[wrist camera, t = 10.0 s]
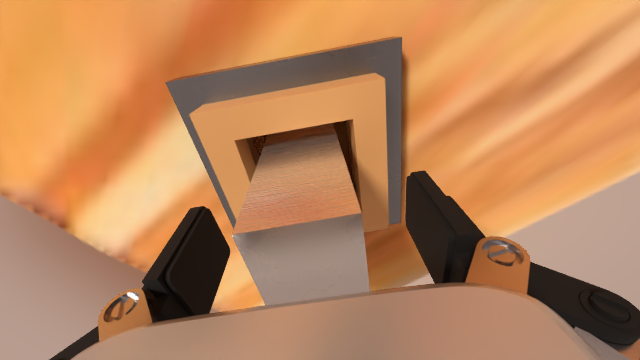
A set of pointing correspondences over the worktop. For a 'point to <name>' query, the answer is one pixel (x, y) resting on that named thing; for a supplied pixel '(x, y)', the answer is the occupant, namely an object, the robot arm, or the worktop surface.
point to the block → (302, 220)
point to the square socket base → (302, 118)
